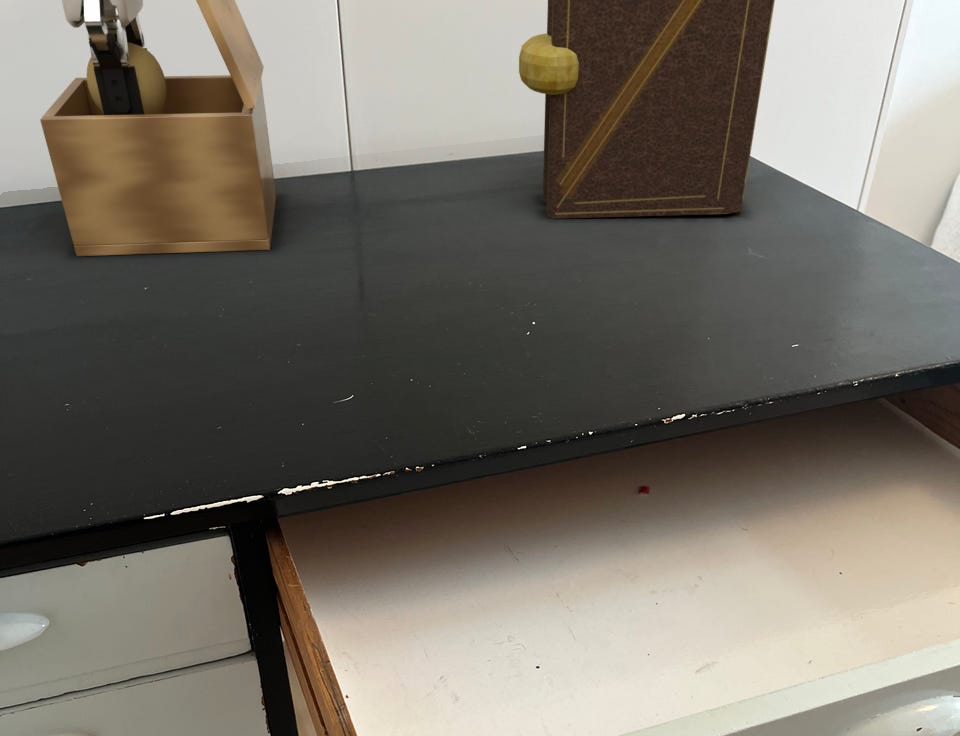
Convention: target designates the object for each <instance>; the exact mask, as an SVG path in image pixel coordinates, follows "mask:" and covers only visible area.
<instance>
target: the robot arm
mask: <svg viewBox="0 0 960 736" xmlns="http://www.w3.org/2000/svg"><path fill="white" fill-rule="evenodd" d="M61 2H62V7H63V12H64V17H65V20H66V21H67V23H68V24H69V25H70V26H71V27H72V28H74V29H75V28H77V29H78V28H80V27H81V26H82V25H85V26H84V27H85V29H86V31H87V35H88V44H89V48H90V58H91V57H92V63H93V66H94V68H93V69H94V73H95V77H96V82H97V86H98V90H99V95H100V99H101V104H102V108H103V112H104V115H144V110H143V105H142V100H141V95H140V90H139V85H138V80H137V75H136V71H135V66H130V60H129V53H128V45H127V42H128V43H132V44H136V45H138V46H140V47H143V48H144V49H146V50H147V51H148V48H147V47H146V43H145V36H144V33H143V28H142V26H141V22H140V18H139V13H140V12H141V10H142V9H143V7H144V0H61ZM116 42H118V46H117V43H116Z"/></svg>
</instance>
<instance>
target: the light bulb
mask: <svg viewBox="0 0 960 736" xmlns="http://www.w3.org/2000/svg"><path fill="white" fill-rule="evenodd" d="M116 43H117V46H118V42H116ZM127 45H128V53H129V60H130V66H135V71H136V75H137V80H138V85H139V90H140V95H141V100H142V105H143V110H144V115H147V114H161V112H162V109H163V107H164V103H165V100H166V81H165V77H164V76H165V74H164V72H163V69H162V67H161V64H160V63H159V61H158V60H157V59H156V57H155V56H154V54H153V53H152V52H151V51H149V50H148V49H147V50H146V49H144V48H145V47H140V46H138V45H136V44H132V43H128V42H127ZM93 68H94V66H93V63H92V57H91V56H90V58H89V60H88V63H87V67H86V78H87V83H88V88H89V91H90V94H91V96H92V98H93V100H94V102H95V104H96V105H97V107H98V108H99V109H100V111H101V112H102V113H103V114H104V112H103V108H102V104H101V99H100V95H99V90H98V86H97V82H96V77H95V73H94V69H93Z"/></svg>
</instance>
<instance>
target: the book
mask: <svg viewBox="0 0 960 736" xmlns="http://www.w3.org/2000/svg"><path fill="white" fill-rule="evenodd" d="M775 1H776V0H547V15H546V16H547V17H546V33H541V34H537V35H534V36H531V37H530V38H528V39H527V40H526V41H525V42H524V43H523V44H522V45H521V47H520V51H519V56H518V75H519V77H520V81H521V82H522V83H523V84H524V85H525V86H526V87H527V88H528V89H529V90H531V91H533V92H536V93H540V94H544V97H545V98H544V129H543V130H544V133H543V168H542V169H543V171H542V202H543V203H544V204H546V211H545V212H546V213H545V215H546V216H547V217H546V218H548V219H552V220H555V219H585V218H587V219H588V218H589V219H590V218H623V217H624V218H625V217H658V216H662V217H663V216H691V215H693V216H695V215H698V216H699V215H728V214H733V213H739V212H740V211H741V210H742V208H743V203H744V197H745V192H746V184H747V179H748V178H747V177H748V171H749V165H750V159H751V153H752V147H753V146H752V145H753V140H754V133H755V127H756V123H757V122H756V121H757V116H758V109H759V102H760V96H761V90H762V83H763V77H764V72H765V65H766V59H767V51H768V45H769V39H770V33H771V27H772V22H773V21H772V20H773V14H774V8H775Z"/></svg>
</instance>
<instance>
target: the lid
mask: <svg viewBox="0 0 960 736" xmlns="http://www.w3.org/2000/svg"><path fill="white" fill-rule="evenodd" d="M195 1H196V3H197V5H198V8H199V10H200V12H201V14H202V17H203V19H204V20H205V23H206V25H207V27H208V29H209V32H210V34H211V36H212V39H213V40H214V42H215V44H216V47H217V50H218V51H219V54H220V55H221V58H222V60H223V63H224V64H225V66H226V68H227V70H228V73H229V75H231V77H232V79H233V82H234V84H235V86H236V88H237V90H238V92H239V95H240V97H241V99H242V101H243V103H244V106H245V108H246V110H249V109H251V108H253V107H255V105H256V100H257V96H258V91H259V87H260V82H261V80H262V77H263V72H264V64H263V62H262V59H261V57H260V55H259V52H258V49H257V48H256V45H255V44H254V41H253V39H252V36H251V34H250V32H249V30H248V27H247V25H246V22H245V21H244V18H243V15H242V14H241V11H240V9H239V7H238V4H237V2H236V0H195Z"/></svg>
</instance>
